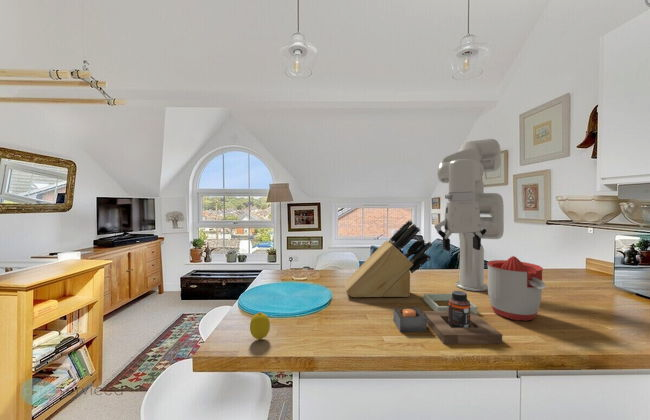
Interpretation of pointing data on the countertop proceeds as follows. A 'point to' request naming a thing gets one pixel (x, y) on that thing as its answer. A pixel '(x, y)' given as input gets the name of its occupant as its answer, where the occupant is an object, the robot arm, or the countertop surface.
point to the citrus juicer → (515, 288)
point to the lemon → (259, 326)
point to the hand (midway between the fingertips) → (461, 249)
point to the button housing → (410, 321)
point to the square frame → (462, 329)
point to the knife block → (389, 267)
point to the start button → (409, 312)
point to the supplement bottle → (459, 310)
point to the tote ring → (443, 297)
